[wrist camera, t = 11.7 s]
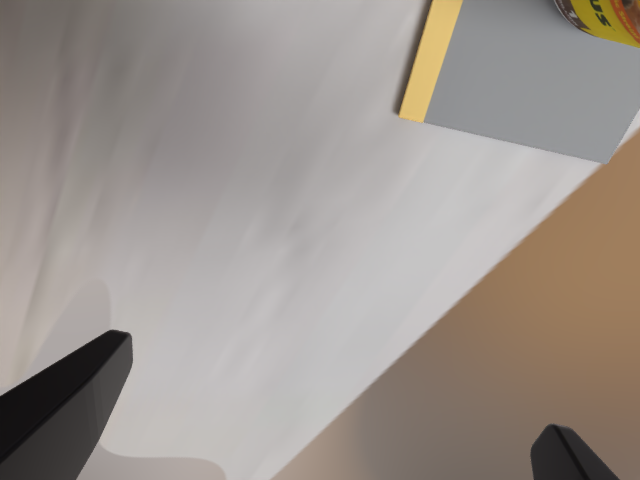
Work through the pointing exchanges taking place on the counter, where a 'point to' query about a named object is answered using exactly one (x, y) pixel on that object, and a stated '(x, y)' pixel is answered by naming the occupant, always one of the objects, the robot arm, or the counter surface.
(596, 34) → the supplement bottle
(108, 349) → the robot arm
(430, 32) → the mat
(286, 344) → the counter surface
